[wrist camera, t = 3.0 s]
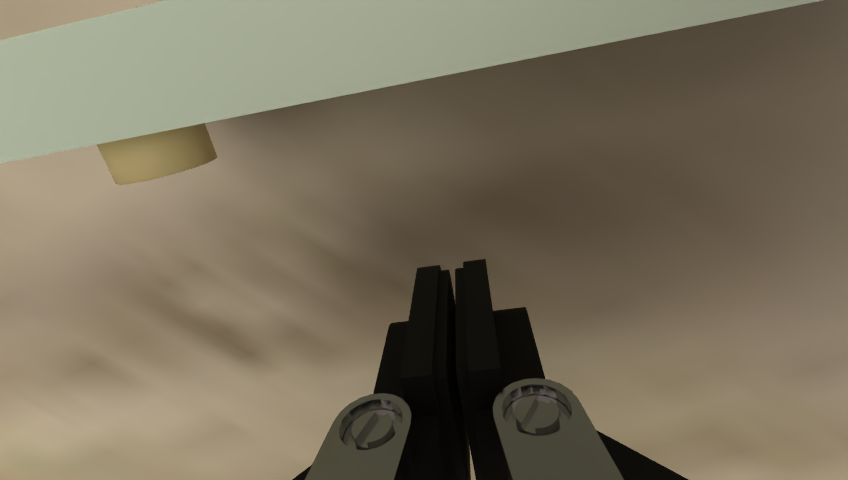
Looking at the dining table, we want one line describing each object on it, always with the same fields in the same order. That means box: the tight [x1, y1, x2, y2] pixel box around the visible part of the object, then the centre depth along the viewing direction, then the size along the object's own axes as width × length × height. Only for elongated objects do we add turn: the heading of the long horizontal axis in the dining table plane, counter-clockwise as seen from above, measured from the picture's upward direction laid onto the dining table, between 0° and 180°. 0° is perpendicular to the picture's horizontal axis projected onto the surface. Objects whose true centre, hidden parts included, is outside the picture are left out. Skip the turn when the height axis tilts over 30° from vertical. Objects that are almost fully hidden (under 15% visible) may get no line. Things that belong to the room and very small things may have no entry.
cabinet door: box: [0, 0, 823, 185], centre depth 9 cm, size 2×22×11 cm, turn 101°
